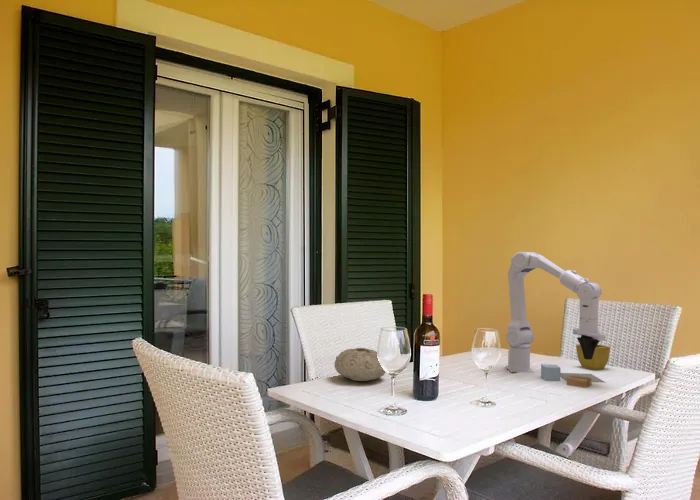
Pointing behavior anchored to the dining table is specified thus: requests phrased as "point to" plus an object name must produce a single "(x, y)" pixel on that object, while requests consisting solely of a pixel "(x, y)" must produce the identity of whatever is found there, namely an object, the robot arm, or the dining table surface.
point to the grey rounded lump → (359, 364)
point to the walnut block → (579, 381)
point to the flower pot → (594, 357)
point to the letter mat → (594, 378)
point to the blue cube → (550, 372)
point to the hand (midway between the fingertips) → (588, 359)
